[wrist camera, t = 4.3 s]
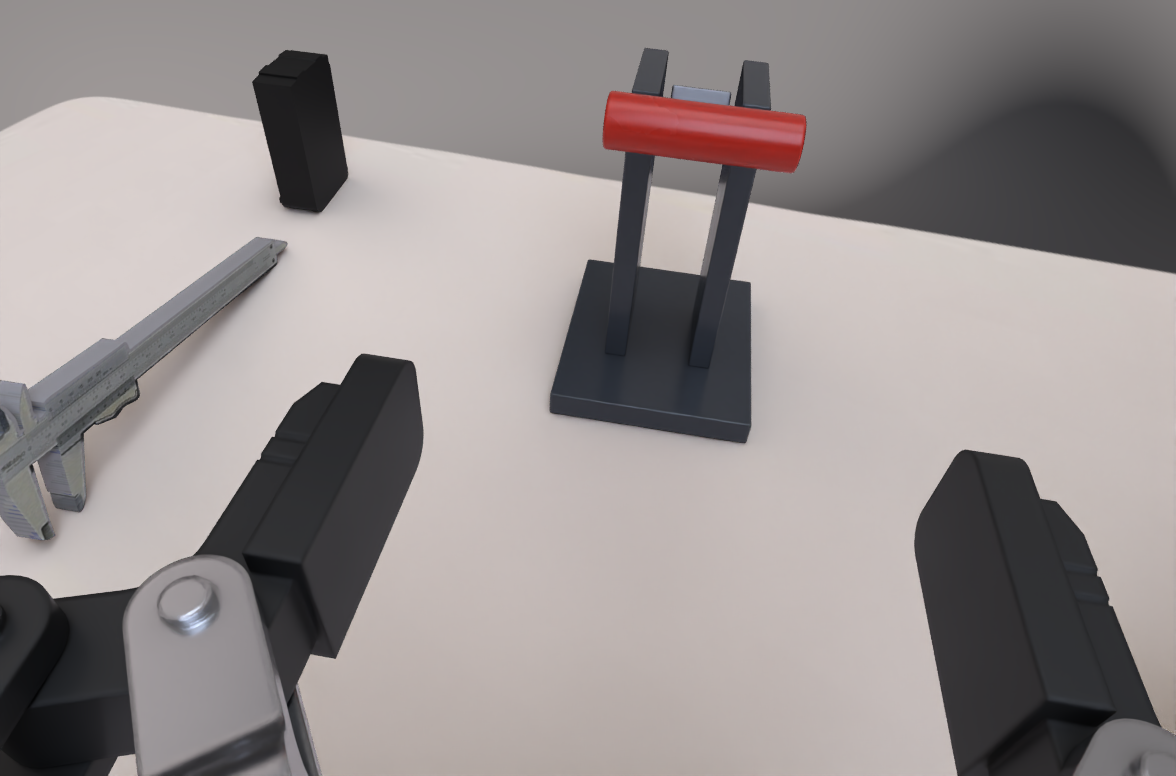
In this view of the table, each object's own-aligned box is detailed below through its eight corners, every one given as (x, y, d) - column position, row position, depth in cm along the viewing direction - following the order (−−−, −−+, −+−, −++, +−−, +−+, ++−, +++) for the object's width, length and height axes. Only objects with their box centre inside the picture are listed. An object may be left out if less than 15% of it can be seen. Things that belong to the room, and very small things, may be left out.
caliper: (51, 551, 27) (-36, 435, 23) (23, 546, 27) (-70, 430, 23) (289, 248, 42) (263, 144, 38) (270, 246, 42) (242, 141, 38)
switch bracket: (746, 444, 33) (836, 156, 24) (549, 412, 34) (560, 121, 24) (746, 299, 41) (814, 40, 32) (586, 276, 42) (606, 15, 32)
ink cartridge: (315, 172, 48) (289, 44, 43) (349, 176, 48) (327, 49, 43) (281, 210, 45) (248, 76, 39) (318, 215, 45) (290, 82, 39)
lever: (792, 196, 19) (815, 94, 18) (597, 169, 19) (610, 68, 18) (750, 158, 31) (762, 97, 30) (631, 142, 31) (639, 81, 30)
